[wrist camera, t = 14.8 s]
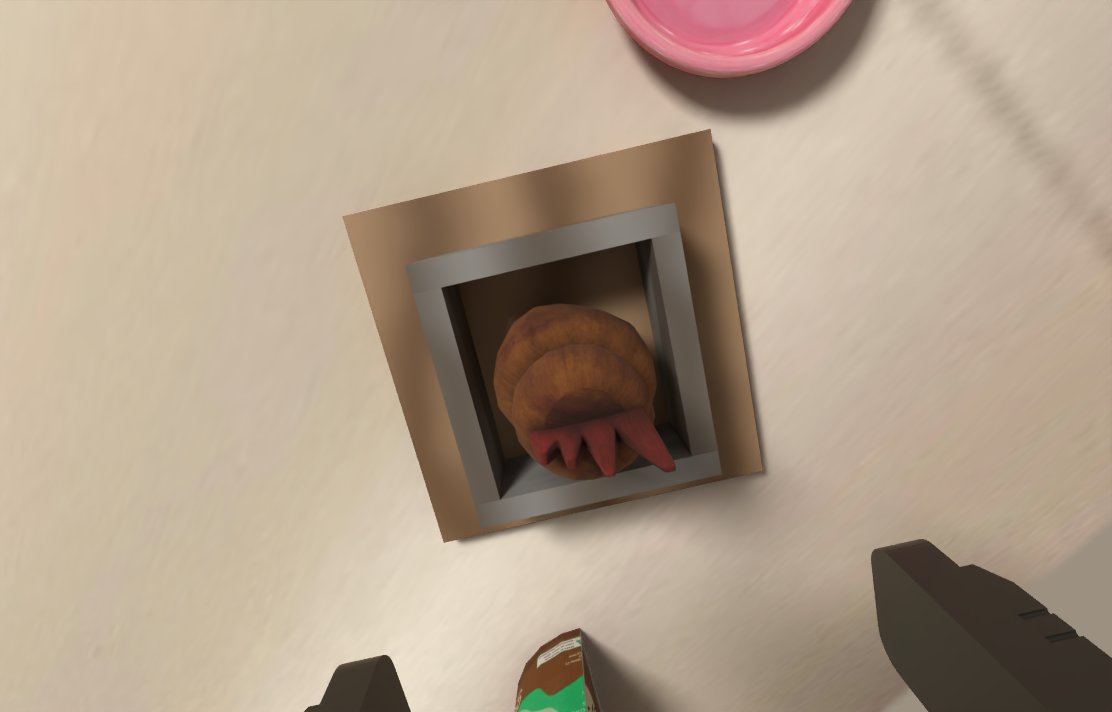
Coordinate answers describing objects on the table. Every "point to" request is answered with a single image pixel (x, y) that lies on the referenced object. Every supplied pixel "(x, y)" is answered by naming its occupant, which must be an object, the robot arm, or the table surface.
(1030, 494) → the table surface
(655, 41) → the saucer
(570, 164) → the collar board
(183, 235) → the table surface
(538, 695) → the food container
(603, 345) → the wooden figurine
